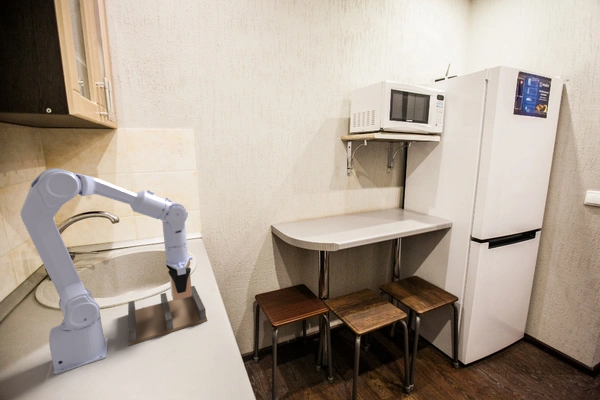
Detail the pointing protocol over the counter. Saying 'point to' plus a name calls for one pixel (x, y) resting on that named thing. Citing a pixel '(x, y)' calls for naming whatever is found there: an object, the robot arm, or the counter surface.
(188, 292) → the block
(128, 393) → the counter surface
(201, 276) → the counter surface
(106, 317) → the counter surface
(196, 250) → the counter surface
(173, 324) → the rack
